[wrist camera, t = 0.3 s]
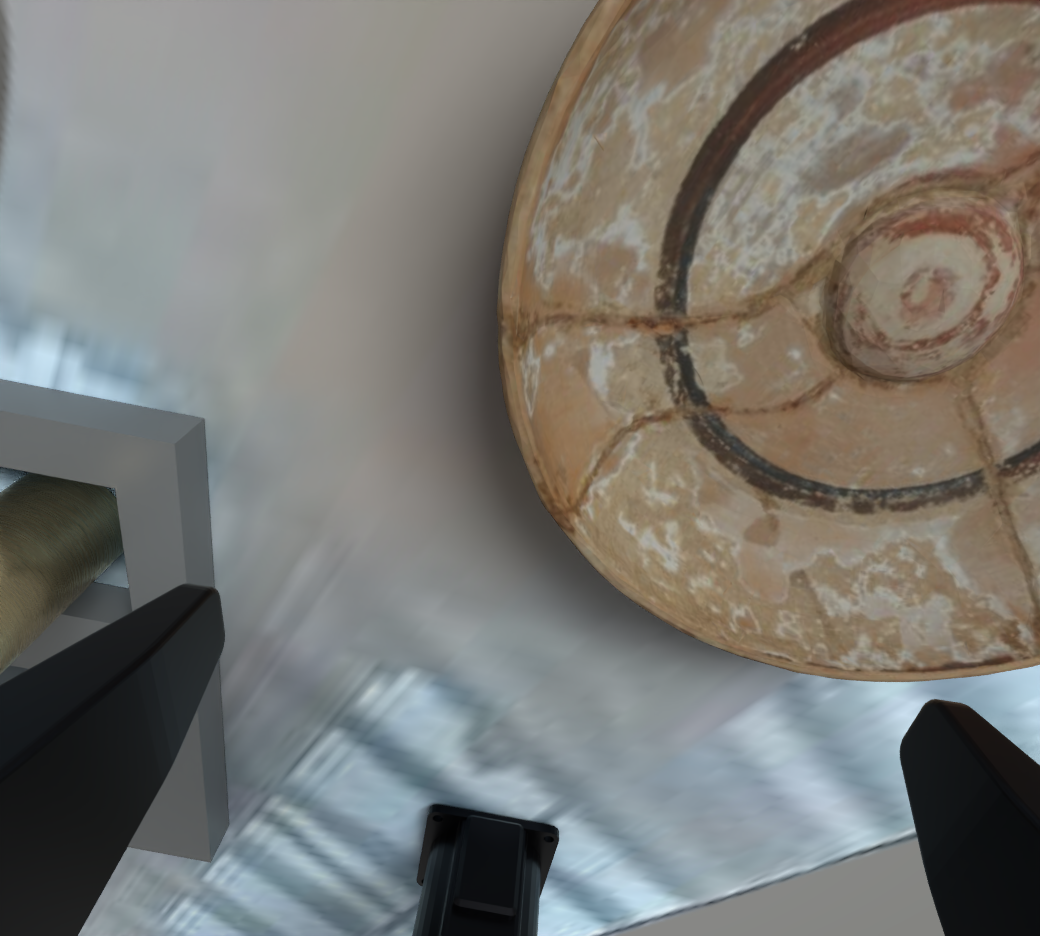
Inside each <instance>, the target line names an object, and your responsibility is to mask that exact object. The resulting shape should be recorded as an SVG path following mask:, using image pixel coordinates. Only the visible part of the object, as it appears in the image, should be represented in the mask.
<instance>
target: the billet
mask: <svg viewBox="0 0 1040 936" xmlns="http://www.w3.org/2000/svg"><path fill="white" fill-rule="evenodd" d="M123 552H124V548H123V541H122V534H121V527H120V520H119V513H118V506H117V499H116V497H115V496H114V495H113V494H112V493H111V492H110V491H109V490H108V489H107V488H106V487H104V486H99V485H94V484H89V483H84V482H78V481H73V480H68V479H63V478H58V477H52V476H47V475H42V474H37V473H32V472H29V473H28V474H26V475H25V476H24V477H22V478H21V479H19V480H18V481H16V482H15V483H13V484H12V485H10V486H9V487H7V488H6V489H4V490H3V491H2V492H0V674H1V673H2V672H3V671H4V670H5V669H6V668H7V667H8V666H9V665H10V664H11V663H12V662H13V661H14V660H16V659H17V658H18V657H19V656H20V655H21V654H22V653H23V652H24V651H25V650H26V649H27V648H28V647H29V646H30V645H31V644H32V643H33V642H34V641H35V640H36V639H37V638H38V637H39V636H40V635H41V634H42V633H43V632H44V631H45V630H46V629H47V628H48V627H49V626H50V625H51V624H52V623H53V622H54V621H55V620H56V619H57V618H58V617H59V616H60V615H61V614H62V613H63V612H64V611H65V610H66V609H67V608H68V607H69V606H70V605H71V604H72V603H73V602H74V601H75V600H76V599H77V598H78V597H79V596H80V595H81V594H82V593H83V592H84V591H85V590H86V589H87V588H88V587H89V586H90V585H91V584H92V583H93V582H94V581H95V580H96V579H97V578H98V577H99V576H100V575H101V574H102V573H103V572H104V571H105V570H106V569H107V568H108V567H109V566H110V565H111V564H112V563H113V562H114V561H115V560H116V559H117V558H118V557H119V556H120V555H121V554H122V553H123Z"/></svg>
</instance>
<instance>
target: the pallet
mask: <svg viewBox="0 0 1040 936" xmlns="http://www.w3.org/2000/svg"><path fill="white" fill-rule="evenodd" d="M0 467H5V468H11V469H16V470H21V471H26V472H32V473H37V474H42V475H47V476H52V477H58V478H63V479H68V480H73V481H78V482H84V483H89V484H94V485H99V486H105V487H110V488H115V491H116V498H117V506H118V513H119V520H120V527H121V534H122V541H123V548H124V555H125V562H126V569H127V577H128V584H129V589H126V588H121V587H116V586H111V585H105V584H100V583H95V582H93V583H92V584H91V585H90V586H89V587H88V588H87V589H86V590H85V591H84V592H83V593H82V594H81V595H80V596H79V597H78V598H77V599H76V600H75V601H74V602H73V603H72V604H71V605H70V606H69V607H68V608H67V609H66V610H65V611H64V612H63V613H62V614H61V615H60V616H59V617H58V618H57V619H56V620H55V621H54V622H53V623H52V624H51V625H50V626H49V627H48V628H47V629H46V630H45V631H44V632H43V633H42V634H41V635H40V636H39V637H38V638H37V639H36V640H35V641H34V642H33V643H32V644H31V645H30V646H29V647H28V648H27V649H26V650H25V651H24V652H23V653H22V654H21V655H20V656H19V657H18V658H17V659H16V660H14V661H13V662H12V663H11V664H10V665H9V666H8V667H7V668H6V669H5V670H4V671H3V672H2V673H1V674H0V685H1V684H2V683H4V682H6V681H8V680H10V679H11V678H13V677H15V676H17V675H19V674H20V673H22V672H24V671H26V670H28V669H29V668H31V667H33V666H35V665H37V664H38V663H40V662H42V661H44V660H46V659H47V658H49V657H51V656H53V655H55V654H56V653H58V652H60V651H62V650H64V649H65V648H67V647H69V646H71V645H73V644H74V643H76V642H78V641H80V640H82V639H83V638H85V637H87V636H89V635H90V634H92V633H94V632H96V631H98V630H99V629H101V628H103V627H105V626H107V625H108V624H110V623H112V622H114V621H116V620H117V619H119V618H121V617H123V616H125V615H126V614H128V613H130V612H132V611H134V610H135V609H137V608H139V607H141V606H143V605H144V604H146V603H148V602H150V601H152V600H153V599H155V598H157V597H159V596H161V595H162V594H164V593H166V592H168V591H170V590H171V589H173V588H175V587H177V586H179V585H181V584H186V583H190V584H196V585H203V586H209V587H213V588H215V587H214V571H213V555H212V538H211V522H210V506H209V490H208V473H207V457H206V441H205V424H204V419H203V418H198V417H193V416H188V415H183V414H178V413H172V412H167V411H162V410H157V409H152V408H146V407H141V406H136V405H131V404H126V403H121V402H115V401H110V400H105V399H100V398H95V397H90V396H84V395H79V394H74V393H69V392H64V391H59V390H53V389H48V388H43V387H38V386H33V385H27V384H22V383H17V382H12V381H7V380H2V379H0ZM228 826H229V815H228V799H227V783H226V766H225V750H224V734H223V718H222V701H221V685H220V669H219V660H218V663H217V665H216V667H215V670H214V672H213V674H212V677H211V679H210V681H209V684H208V686H207V688H206V691H205V693H204V695H203V698H202V700H201V702H200V705H199V707H198V709H197V712H196V714H195V716H194V719H193V721H192V723H191V726H190V728H189V730H188V732H187V735H186V737H185V739H184V742H183V744H182V746H181V749H180V751H179V753H178V755H177V757H176V759H175V762H174V764H173V766H172V768H171V770H170V771H169V773H168V775H167V777H166V779H165V781H164V783H163V785H162V786H161V788H160V790H159V792H158V794H157V795H156V797H155V799H154V801H153V802H152V804H151V806H150V808H149V810H148V811H147V813H146V815H145V817H144V818H143V820H142V822H141V824H140V826H139V827H138V829H137V831H136V833H135V834H134V836H133V838H132V840H131V842H130V843H129V845H128V847H131V848H136V849H142V850H147V851H152V852H158V853H163V854H168V855H174V856H179V857H185V858H190V859H195V860H201V861H206V862H211V861H212V859H213V857H214V855H215V853H216V851H217V849H218V847H219V845H220V843H221V841H222V839H223V836H224V834H225V832H226V830H227V828H228Z"/></svg>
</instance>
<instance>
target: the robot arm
mask: <svg viewBox="0 0 1040 936" xmlns="http://www.w3.org/2000/svg"><path fill="white" fill-rule="evenodd" d="M224 642H225V630H224V623H223V615H222V608H221V600H220V595H219V593H218V591H217V590H216V589H215V588H213V587H209V586H203V585H196V584H190V583H186V584H181V585H179V586H177V587H175V588H173V589H171V590H170V591H168V592H166V593H164V594H162V595H161V596H159V597H157V598H155V599H153V600H152V601H150V602H148V603H146V604H144V605H143V606H141V607H139V608H137V609H135V610H134V611H132V612H130V613H128V614H126V615H125V616H123V617H121V618H119V619H117V620H116V621H114V622H112V623H110V624H108V625H107V626H105V627H103V628H101V629H99V630H98V631H96V632H94V633H92V634H90V635H89V636H87V637H85V638H83V639H82V640H80V641H78V642H76V643H74V644H73V645H71V646H69V647H67V648H65V649H64V650H62V651H60V652H58V653H56V654H55V655H53V656H51V657H49V658H47V659H46V660H44V661H42V662H40V663H38V664H37V665H35V666H33V667H31V668H29V669H28V670H26V671H24V672H22V673H20V674H19V675H17V676H15V677H13V678H11V679H10V680H8V681H6V682H4V683H2V684H1V685H0V936H78V934H79V932H80V931H81V929H82V927H83V925H84V923H85V922H86V920H87V918H88V916H89V915H90V913H91V911H92V909H93V907H94V906H95V904H96V902H97V900H98V898H99V897H100V895H101V893H102V891H103V890H104V888H105V886H106V884H107V882H108V881H109V879H110V877H111V875H112V874H113V872H114V870H115V868H116V866H117V865H118V863H119V861H120V859H121V858H122V856H123V854H124V852H125V850H126V849H127V847H128V845H129V843H130V842H131V840H132V838H133V836H134V834H135V833H136V831H137V829H138V827H139V826H140V824H141V822H142V820H143V818H144V817H145V815H146V813H147V811H148V810H149V808H150V806H151V804H152V802H153V801H154V799H155V797H156V795H157V794H158V792H159V790H160V788H161V786H162V785H163V783H164V781H165V779H166V777H167V775H168V773H169V771H170V770H171V768H172V766H173V764H174V762H175V759H176V757H177V755H178V753H179V751H180V749H181V746H182V744H183V742H184V739H185V737H186V735H187V732H188V730H189V728H190V726H191V723H192V721H193V719H194V716H195V714H196V712H197V709H198V707H199V705H200V702H201V700H202V698H203V695H204V693H205V691H206V688H207V686H208V684H209V681H210V679H211V677H212V674H213V672H214V670H215V667H216V665H217V663H218V660H219V658H220V656H221V653H222V650H223V647H224ZM900 761H901V766H902V770H903V775H904V779H905V784H906V788H907V793H908V797H909V802H910V806H911V811H912V815H913V820H914V824H915V829H916V833H917V838H918V842H919V846H920V851H921V855H922V860H923V864H924V868H925V872H926V876H927V880H928V884H929V887H930V890H931V894H932V897H933V900H934V904H935V907H936V910H937V913H938V916H939V919H940V922H941V925H942V928H943V931H944V934H945V936H1040V765H1039V764H1037V763H1036V762H1035V761H1034V760H1033V759H1031V758H1030V757H1029V756H1028V755H1027V754H1025V753H1024V752H1023V751H1022V750H1021V749H1020V748H1018V747H1017V746H1016V745H1015V744H1014V743H1012V742H1011V741H1010V740H1009V739H1008V738H1006V737H1005V736H1004V735H1003V734H1002V733H1000V732H999V731H998V730H997V729H996V728H995V727H993V726H992V725H991V724H990V723H989V722H987V721H986V720H985V719H984V718H983V717H981V716H980V715H979V714H978V713H977V712H976V711H974V710H973V709H972V708H970V707H969V706H967V705H965V704H962V703H957V702H951V701H944V700H938V699H934V700H930V701H928V702H927V703H925V705H924V706H923V707H922V709H921V710H920V712H919V714H918V715H917V717H916V718H915V720H914V722H913V723H912V725H911V726H910V728H909V729H908V731H907V733H906V734H905V736H904V737H903V739H902V742H901V746H900ZM558 842H559V830H558V829H557V828H556V827H554V826H551V825H546V824H540V823H535V822H530V821H524V820H519V819H514V818H508V817H503V816H498V815H492V814H487V813H482V812H477V811H471V810H466V809H461V808H455V807H450V806H445V805H433V806H431V807H430V809H429V813H428V818H427V824H426V829H425V835H424V841H423V847H422V852H421V858H420V864H419V870H418V876H417V883H418V884H419V885H421V886H423V887H422V891H421V896H420V901H419V906H418V911H417V916H416V921H415V926H414V931H413V935H412V936H537V932H538V914H539V898H540V895H541V892H542V889H543V887H544V884H545V881H546V878H547V875H548V872H549V869H550V866H551V863H552V860H553V857H554V854H555V851H556V848H557V845H558Z"/></svg>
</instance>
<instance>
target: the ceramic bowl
mask: <svg viewBox="0 0 1040 936" xmlns="http://www.w3.org/2000/svg"><path fill="white" fill-rule="evenodd" d="M497 320H498V354H499V369H500V374H501V379H502V387H503V396H504V400H505V405H506V409H507V414H508V418H509V421H510V424H511V427H512V431H513V434H514V437H515V439H516V442H517V444H518V447H519V449H520V452H521V454H522V457H523V459H524V462H525V464H526V467H527V469H528V472H529V474H530V477H531V479H532V481H533V483H534V486H535V488H536V490H537V493H538V495H539V497H540V500H541V502H542V503H543V505H544V507H545V508H546V510H547V511H548V512H549V513H550V514H551V516H552V517H553V518H554V520H555V521H556V522H557V524H558V525H559V526H560V528H561V529H562V530H563V531H564V533H565V534H566V535H567V536H568V538H569V539H570V540H571V541H572V543H573V544H574V545H575V546H576V548H577V549H578V550H579V551H580V553H581V554H582V555H583V556H584V557H585V558H586V559H587V560H588V562H589V563H590V564H591V565H592V566H593V567H594V568H595V569H596V570H597V571H598V572H599V573H600V574H601V575H602V576H603V577H604V578H605V579H606V580H607V581H608V582H610V583H611V584H612V585H613V586H614V587H615V588H617V589H618V590H619V591H620V592H622V593H623V594H624V595H625V596H626V597H628V598H629V599H631V600H632V601H633V602H635V603H636V604H638V605H639V606H640V607H642V608H643V609H645V610H647V611H648V612H650V613H651V614H653V615H655V616H656V617H658V618H659V619H661V620H663V621H664V622H666V623H668V624H669V625H671V626H673V627H674V628H676V629H678V630H680V631H681V632H683V633H685V634H687V635H689V636H691V637H694V638H696V639H698V640H700V641H702V642H705V643H707V644H709V645H712V646H714V647H717V648H720V649H722V650H725V651H727V652H730V653H733V654H735V655H738V656H741V657H744V658H748V659H751V660H754V661H758V662H761V663H765V664H768V665H772V666H776V667H779V668H783V669H786V670H790V671H793V672H797V673H803V674H810V675H817V676H823V677H828V678H835V679H844V680H857V681H873V682H915V681H929V680H940V679H951V678H963V677H972V676H981V675H989V674H994V673H999V672H1005V671H1011V670H1016V669H1022V668H1028V667H1033V666H1036V665H1040V0H599V1H598V2H597V4H596V6H595V7H594V9H593V10H592V12H591V13H590V15H589V17H588V18H587V20H586V21H585V23H584V25H583V26H582V28H581V30H580V32H579V34H578V36H577V38H576V39H575V41H574V43H573V45H572V47H571V49H570V51H569V52H568V54H567V56H566V58H565V60H564V62H563V64H562V66H561V68H560V70H559V72H558V74H557V76H556V79H555V81H554V83H553V85H552V87H551V89H550V91H549V93H548V95H547V98H546V100H545V103H544V105H543V107H542V110H541V112H540V115H539V117H538V120H537V122H536V125H535V128H534V131H533V133H532V136H531V139H530V142H529V144H528V147H527V150H526V153H525V156H524V159H523V163H522V166H521V169H520V173H519V176H518V179H517V183H516V187H515V191H514V195H513V200H512V204H511V208H510V212H509V217H508V223H507V229H506V234H505V240H504V245H503V252H502V259H501V267H500V275H499V287H498V301H497Z"/></svg>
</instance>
